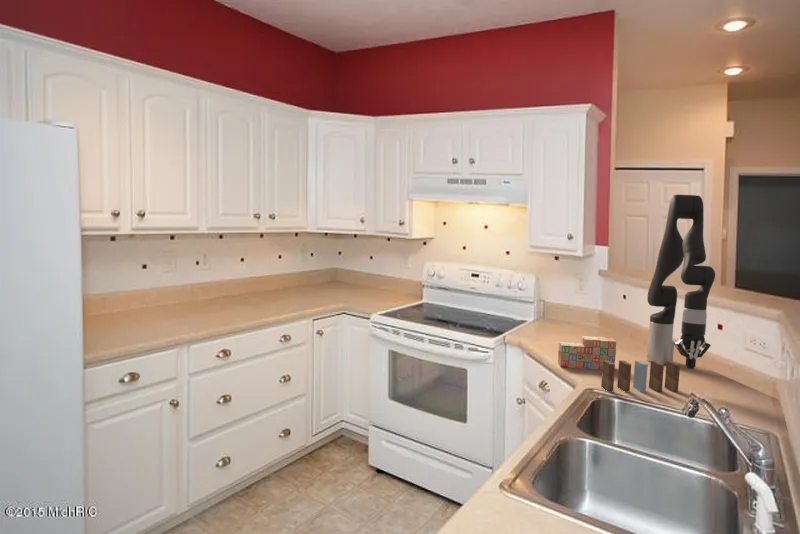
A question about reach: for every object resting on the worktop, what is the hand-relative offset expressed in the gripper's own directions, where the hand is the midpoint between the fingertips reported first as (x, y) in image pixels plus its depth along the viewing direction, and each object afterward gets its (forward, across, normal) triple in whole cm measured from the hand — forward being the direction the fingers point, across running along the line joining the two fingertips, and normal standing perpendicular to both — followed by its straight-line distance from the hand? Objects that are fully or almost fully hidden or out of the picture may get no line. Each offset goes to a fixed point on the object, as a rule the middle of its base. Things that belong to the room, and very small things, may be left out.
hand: (690, 368), depth 191 cm
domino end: (+8, -30, 0) cm, 32 cm away
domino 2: (+8, -18, 0) cm, 20 cm away
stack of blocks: (+8, -26, +29) cm, 40 cm away
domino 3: (+8, -12, 0) cm, 15 cm away
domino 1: (+8, -24, 0) cm, 26 cm away
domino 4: (+8, -6, 0) cm, 10 cm away
